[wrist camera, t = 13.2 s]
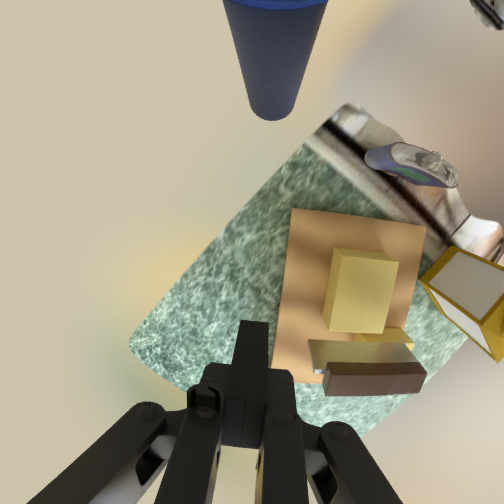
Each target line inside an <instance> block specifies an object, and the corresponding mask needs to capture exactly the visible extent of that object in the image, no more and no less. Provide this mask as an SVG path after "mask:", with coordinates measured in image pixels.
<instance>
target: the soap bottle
mask: <svg viewBox="0 0 504 504" xmlns="http://www.w3.org/2000/svg"><path fill="white" fill-rule="evenodd" d="M418 280H419V281H420V283H421V284H422V286H423V287H424V289H425V290H426V292H427V293H428V295H429V296H430V298H431V299H432V301H433V302H434V304H435V305H436V307H437V309H438V310H439V312H440V313H442V314H443V315H444V316H445V317H446V318H447V319H449V320H450V321H451V322H452V323H453V324H454V325H456V326H457V327H458V328H459V329H460V330H461V331H462V332H464V333H465V334H466V335H467V336H468V337H469V338H470V339H471V340H473V341H474V342H475V343H476V344H477V345H478V346H479V347H480V348H482V349H483V350H484V351H485V352H486V353H487V354H488V355H489V356H490V357H491V358H492V359H494V360H496V362H497V363H498V362H499V361H500V360H501V359H502V358H503V357H504V267H502V266H500V265H498V264H496V263H493V262H491V261H489V260H486V259H484V258H482V257H479V256H477V255H475V254H472V253H470V252H467V251H465V250H462V249H460V248H457V247H455V246H452V245H451V246H450V247H449V248H448V249H447V250H446V252H445V253H444V254H443V255H442V256H441V257H440V258H439V259H438V260H437V261H436V262H435V263H434V264H433V265H432V266H431V267H430V268H429V269H428V270H427V271H426V272H425V273H424V274H423V275H422V276H421V277H420V278H419V279H418Z"/></svg>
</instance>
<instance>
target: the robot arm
mask: <svg viewBox="0 0 504 504" xmlns="http://www.w3.org/2000/svg"><path fill="white" fill-rule="evenodd" d="M268 333H269V323H267V322H257V321H248V320H241V321H240V326H239V330H238V335H237V340H236V345H235V349H234V354H233V359H232V364H231V365H230V364H222V363H215V362H211V363H210V364H209V365H207V366H206V367H205V369H204V372H203V375H202V377H201V381H200V383H199V384H196V385H193V386H192V387H190V388H189V389H188V390H187V408H186V409H183V410H180V411H165V410H164V408H163V407H162V406H161V405H159V404H157V403H154V402H141V403H137V404H136V405H134V406H133V407H132V408H131V409H130V410H129V411H128V412H126V413H125V415H123V416H122V417H121V418H120V419H119V420H118V421H117V422H116V423H115V424H114V425H113V426H112V427H111V428H110V429H109V430H107V431H106V432H105V433H104V434H103V435H102V436H101V437H100V438H99V439H98V440H97V441H96V442H95V443H93V444H92V445H91V446H90V447H89V448H88V449H87V450H86V451H85V452H84V453H83V454H82V455H80V456H79V457H78V458H77V459H76V460H75V461H74V462H73V463H72V464H71V465H69V466H68V467H67V468H66V469H65V470H64V471H63V472H62V473H61V474H59V476H57V477H56V478H55V479H54V480H53V481H52V482H51V483H49V484H48V485H47V486H46V487H45V488H44V489H43V490H42V491H40V492H39V493H38V494H37V495H36V496H35V497H33V498H32V499H31V500H30V501H29V502H28V503H27V504H136V503H137V502H138V501H139V500H140V498H141V497H142V496H143V494H144V493H145V492H146V491H147V489H148V488H149V487H150V486H151V484H152V483H153V482H154V480H155V479H156V478H157V477H158V475H159V474H160V473H161V471H162V470H163V469H164V467H165V466H166V464H167V463H168V464H167V467H166V470H165V473H164V476H163V479H162V482H161V484H160V488H159V491H158V493H157V496H156V499H155V502H154V504H212V499H213V493H214V488H215V483H216V476H217V471H218V466H219V461H220V454H221V444H222V445H226V446H233V447H242V448H252V449H259V454H258V459H257V464H256V469H257V475H256V489H255V504H309V498H308V486H307V479H308V481H309V484H310V486H311V488H312V491H313V493H314V495H315V498H316V500H317V502H318V504H403V503H402V501H401V500H400V499H399V497H398V495H397V494H396V492H395V491H394V489H393V488H392V486H391V485H390V483H389V482H388V480H387V479H386V477H385V476H384V474H383V473H382V471H381V470H380V468H379V467H378V465H377V464H376V462H375V460H374V459H373V457H372V456H371V454H370V453H369V452H368V450H367V448H366V447H365V445H364V444H363V442H362V441H361V439H360V437H359V436H358V434H357V433H356V431H355V430H354V429H353V428H352V427H351V426H350V425H348V424H346V423H344V422H340V421H332V422H329V423H326V424H325V425H324V426H322V427H317V426H313V425H310V424H308V423H306V422H304V421H303V420H302V419H301V418H300V416H299V415H298V414H297V409H296V399H295V391H294V390H295V389H294V379H293V375H292V374H291V373H290V371H289V370H287V369H275V368H268Z"/></svg>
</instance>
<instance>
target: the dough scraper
mask: <svg viewBox="0 0 504 504" xmlns="http://www.w3.org/2000/svg"><path fill="white" fill-rule="evenodd" d="M307 345H308V350H309V354H310V359H311V364H312V368H313V373H314V374H324V377H323V380H322V384H323V388H324V393H325V396H380V395H399V394H413V393H419V392H420V390H421V387H422V385H423V383H424V380H425V378H426V376H427V372H426V370H425V369H424V368H423V366H422V365H421V364H420V362H418V360H417V359H416V358H415V356H414V355H413V354H412V352H411V351H410V350H409V349H408V347H407V346H406V345H405V343H397V342H355V341H333V340H316V339H308V341H307Z"/></svg>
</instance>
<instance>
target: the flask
mask: <svg viewBox="0 0 504 504" xmlns="http://www.w3.org/2000/svg"><path fill="white" fill-rule="evenodd" d="M365 163H366V164H367V165H368V166H369V167H371V168H373V169H376V170H377V169H378V170H382V171H384V172H386V173H387V174H389V175H392V176H399V177H400V178H401V179H406V180H407V181H408V182H410V183H412V184H414V185H424V186H436V187H444V188H445V187H446V188H455V187H456V186H457V185H458V182H459V175H458V172H457V171H456V169H455V168H454V167H452V166H451V165H449V163H447V162H446V161H445V160H443V156H442V155H441V154H440V153H439V152H436V155H435V154H434V151H432V152H430V151H428V150H425V149H423V148H420V147H417V146H414V145H410V144H407V143H402V142H396V143H393V144H390V145H386V146H383V147H380V148H375V149H372V150H369V151H367V153H366V154H365Z"/></svg>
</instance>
